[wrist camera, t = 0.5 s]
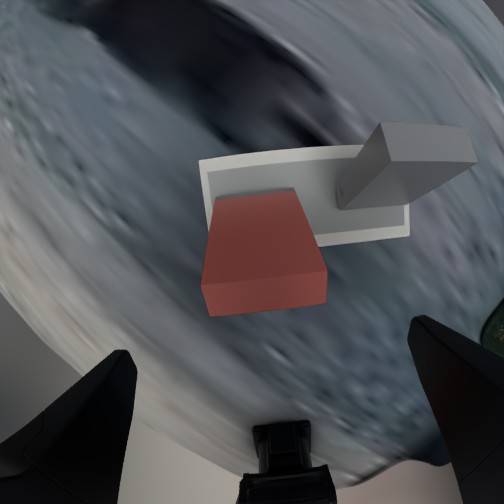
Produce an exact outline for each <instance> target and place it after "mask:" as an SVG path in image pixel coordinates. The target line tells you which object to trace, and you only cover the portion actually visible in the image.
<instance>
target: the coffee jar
mask: <svg viewBox="0 0 504 504" xmlns="http://www.w3.org/2000/svg"><path fill="white" fill-rule="evenodd" d="M482 344H483V347H485V348H487V349H489V350H491V351H493V352H494V353H496V354H498V355H500V356H502V357H503V358H504V302H503V303H502V305H501V306H500V307H499V309H498V310H497V311H496V312H495V314H494V315H493V317H492V318H491V319H490V321H489V322H488V324H487V325H486V327H485V330H484V334H483V339H482Z"/></svg>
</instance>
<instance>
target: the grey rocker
mask: <svg viewBox="0 0 504 504" xmlns="http://www.w3.org/2000/svg"><path fill="white" fill-rule="evenodd" d="M477 163H478V161H477V157H476V154H475V151H474V148H473V145H472V142H471V139H470V136H469V134H468V131H467V128H462V127H453V126H443V125H432V124H417V123H397V122H380V123H379V124H378V126H377V127H376V129H375V130H374V132H373V133H372V135H371V136H370V137H369V139H368V140H367V142H366V143H365V145H364V146H363V148H362V149H361V151H360V152H359V153H358V155H357V156H356V158H355V159H354V161H353V162H352V164H351V165H350V166H349V168H348V169H347V171H346V172H345V174H344V175H343V176H342V178H341V179H340V181H339V182H338V184H337V185H336V201H337V205H338V208H339V210H341V211H342V210H353V209H364V208H375V207H387V206H399V205H407V204H408V203H411V202H413V201H414V200H416V199H418V198H420V197H421V196H423V195H425V194H426V193H428V192H430V191H432V190H433V189H435V188H437V187H438V186H440V185H442V184H443V183H445V182H447V181H448V180H450V179H452V178H453V177H455V176H457V175H458V174H460V173H462V172H463V171H465V170H467V169H468V168H470V167H472V166H473V165H475V164H477Z"/></svg>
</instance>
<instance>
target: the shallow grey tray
mask: <svg viewBox="0 0 504 504" xmlns="http://www.w3.org/2000/svg"><path fill="white" fill-rule="evenodd" d="M363 146H364V145H342V146H323V147H308V148H295V149H284V150H274V151H264V152H256V153H247V154H239V155H232V156H225V157H218V158H211V159H205V160H199V168H200V175H201V183H202V190H203V197H204V204H205V211H206V218H207V225H208V231H209V230H210V224H211V218H212V213H213V207H214V202H215V197H218V196H225V195H232V194H240V193H248V192H256V191H265V190H274V189H283V188H293V187H294V189H295V192H296V194H297V196H298V198H299V201H300V203H301V206H302V208H303V210H304V213H305V215H306V217H307V220H308V222H309V225H310V227H311V230H312V232H313V235H314V237H315V239H316V242H317V244H318V247H322V246H331V245H339V244H348V243H356V242H364V241H372V240H381V239H389V238H397V237H406V236H410V224H409V203H408V204H407V205H399V206H387V207H375V208H364V209H353V210H342V211H341V210H339V208H338V205H337V201H336V185H337V184H338V182H339V181H340V179H341V178H342V176H343V175H344V174H345V172H346V171H347V169H348V168H349V166H350V165H351V164H352V162H353V161H354V159H355V158H356V156H357V155H358V153H359V152H360V151H361V149H362V148H363Z"/></svg>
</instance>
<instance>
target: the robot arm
mask: <svg viewBox="0 0 504 504" xmlns="http://www.w3.org/2000/svg"><path fill="white" fill-rule="evenodd" d="M407 341H408V345H409V348H410V351H411V354H412V357H413V360H414V363H415V366H416V369H417V373H418V376H419V379H420V382H421V384H422V387H423V389H424V391H425V394H426V396H427V399H428V401H429V403H430V406H431V408H432V411H433V413H434V416H435V419H436V421H437V424H438V426H439V429H440V432H441V434H442V437H443V440H444V443H445V445H446V448H447V451H448V454H449V457H450V460H451V463H452V466H453V469H454V473H455V476H456V479H457V482H458V486H459V490H460V493H461V497H462V501H463V504H504V358H503V357H502V356H500V355H498V354H496V353H494V352H493V351H491V350H489V349H487V348H485V347H483V346H482V345H480V344H478V343H476V342H474V341H473V340H471V339H469V338H467V337H465V336H463V335H462V334H460V333H458V332H456V331H454V330H452V329H450V328H449V327H447V326H445V325H443V324H441V323H439V322H437V321H435V320H434V319H432V318H430V317H428V316H426V315H419V316H415V317H413V318H412V320H411V324H410V328H409V332H408V337H407ZM136 382H137V367H136V365H135V363H134V361H133V359H132V357H131V355H130V353H129V352H128V351H127V350H114V351H113V352H112V353H111V354H110V355H108V356H107V357H106V358H105V359H104V360H102V361H101V362H100V363H99V364H98V365H96V366H95V367H94V368H93V369H92V370H91V371H89V372H88V373H87V374H86V375H85V376H83V377H82V378H81V379H80V380H79V381H78V382H76V383H75V384H74V385H73V386H72V387H70V388H69V389H68V390H67V391H66V392H65V393H63V394H62V395H61V396H60V397H59V398H57V399H56V400H55V401H54V402H53V403H52V404H50V405H49V406H48V407H47V408H46V409H45V410H44V411H42V412H41V413H40V414H39V415H38V416H37V417H35V418H34V419H33V420H32V421H30V422H29V423H28V424H27V425H25V426H24V427H23V428H21V429H20V430H19V431H17V432H16V433H15V434H13V435H12V436H10V437H9V438H8V439H6V440H5V441H3V442H2V443H1V444H0V504H117V500H118V494H119V487H120V481H121V474H122V468H123V462H124V457H125V451H126V446H127V440H128V435H129V431H130V426H131V421H132V416H133V409H134V400H135V391H136ZM306 424H307V425H306ZM252 433H253V438H254V442H255V447H256V452H257V456H258V459H259V473H257V474H249V473H244V474H243V479H242V480H241V481H240V486H239V488H240V489H239V495H238V498H237V501H236V504H337V496H336V491H335V487H334V484H333V481H332V478H331V475H330V472H329V468H328V465H327V464H326V465H322V466H319V467H312V463H311V457H310V452H311V424H310V421H299V422H292V423H284V424H274V425H264V426H254V427H253V428H252Z"/></svg>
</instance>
